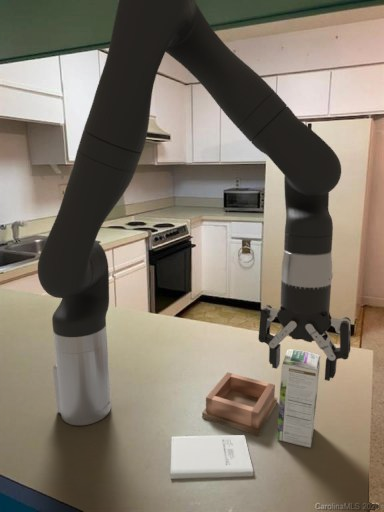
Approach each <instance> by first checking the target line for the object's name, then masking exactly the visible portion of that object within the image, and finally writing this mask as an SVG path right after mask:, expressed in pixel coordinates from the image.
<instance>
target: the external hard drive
mask: <svg viewBox="0 0 384 512" xmlns="http://www.w3.org/2000/svg"><path fill="white" fill-rule="evenodd" d="M247 444H248V443H247V440H246V436H245V435H244V434H242V435H241V434H240V435H239V434H238V435H236V434H235V435H233V434H231V435H229V434H228V435H191V436H190V435H189V436H188V435H185V436H181V435H179V436H171V443H170V447H171V448H170V473H169V474H170V479H172V480H173V479H199V478H203V479H205V478H229V477H230V478H231V477H233V478H234V477H254V468H253V464H252V461H251V456H250V452H249V448H248V445H247Z"/></svg>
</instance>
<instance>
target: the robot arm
mask: <svg viewBox="0 0 384 512" xmlns="http://www.w3.org/2000/svg"><path fill="white" fill-rule="evenodd" d="M113 22H114V23H113V28H112V33H111V38H110V42H109V47H108V52H107V55H106V58H105V59H106V60H105V63H104V67H103V69H102V72H101V75H100V78H99V81H98V84H97V87H96V90H95V93H94V97H93V100H92V104H91V107H90V111H89V113H88V115H87V118H86V121H85V123H84V127H83V129H82V134H81V137H80V140H79V144H78V147H77V150H76V154H75V158H74V161H73V166H72V170H71V171H70V176H69V178H68V181H67V184H66V186H65V191H64V193H63V198H62V200H61V202H60V203H61V204H60V206H59V210H58V213H57V215H56V217H55V220H54V222H53V224H52V227H51V229H50V230H49V233H48V235H47V238H46V240H45V243H44V245H43V247H42V250H41V252H40V255H39V258H38V261H37V276H38V277H37V278H38V281H39V283H40V285H41V287H42V289H43V290H44V291H45V293H46V294H48V295H49V296H51V297H53V298H58V299H61V300H60V303H59V304H58V306H57V308H56V310H55V311H54V312H53V314H52V319H51V321H52V323H51V324H52V332H53V342H54V351H55V352H54V353H55V363H56V364H54V365H53V367H52V371H53V381H54V390H55V391H54V392H55V401H56V412H57V413H59V414H60V415H61V419H62V420H63V421H64V422H65V423H67V424H69V425H72V426H88V425H92V424H95V423H97V422H100V421H102V420H103V419H104V418H105V417H107V415H109V413H110V412H111V408H112V404H111V403H112V402H111V401H112V399H111V384H110V369H109V368H110V366H109V365H110V364H109V349H108V336H107V335H108V334H107V320H106V319H107V312H108V310H109V308H110V307H109V305H110V276H109V275H110V271H109V262H108V258H107V254H106V251H105V250H104V248H103V246H102V245H101V244H100V243H99V241H97V237H98V235H99V232H100V230H101V229H102V226H103V224H104V223H105V221H106V219H107V218H108V216H109V215H110V213H111V212H112V211H113V209H114V208H115V207H116V205H117V204H118V203H119V201H120V200H121V198H122V196H123V195H124V194H125V193H126V190H127V189H128V187H129V185H130V184H131V183H132V180H133V178H134V175H135V173H136V171H137V167H138V166H139V162H140V159H141V157H142V154H143V151H144V149H145V148H144V147H145V145H146V142H147V136H148V131H149V123H150V115H151V105H152V96H153V89H154V85H155V80H156V78H157V74H158V71H159V68H160V66H161V63H162V61H163V58H164V56H165V54H168V55H169V56H170V57H172V59H174V60H175V61H177V62H178V63H179V64H181V66H183V67H184V68H185V69H186V70H187V71H188V72H189V73H190V74H191V75H192V76H193V77H194V78H195V79H196V80H197V81H198V82H199V83H200V84H201V85H202V87H203V88H204V89H205V90H206V91H207V93H208V94H209V95H210V97H212V99H213V100H214V101H215V103H216V104H217V105H218V106H219V108H220V109H221V111H223V113H224V115H226V117H228V120H230V121H231V122H232V123H233V124H234V125H235V126H236V128H237V129H238V130H239V131H240V132H241V133H242V134H243V135H244V137H245V138H246V139H247V140H248V141H249V142H251V144H252V145H253V146H254V147H255V148H256V149H258V150H259V152H261V153H262V154H265V155H266V156H267V157H268V158H269V159H270V161H272V163H273V164H274V165H275V166H276V168H278V169H279V171H281V173H282V174H283V175H284V178H283V179H284V186H283V187H284V201H285V203H284V204H285V215H286V216H285V225H284V247H283V248H284V249H283V256H282V262H281V278H280V279H281V280H280V281H281V282H280V283H281V284H280V286H281V287H280V308H279V309H277V308H273V307H272V306H271V305H269V304H267V305H265V306H264V307H263V308H262V309H261V310H260V316H259V317H260V318H259V329H258V341H259V342H260V343H263V344H264V343H265V344H266V345H267V346H268V348H269V350H268V352H269V353H268V362H269V364H270V365H272V369H278V368H279V366H280V364H281V363H280V362H281V342H283V340H284V339H286V337H288V336H289V337H291V339H292V340H297V341H298V340H303V341H305V342H308V343H312V342H314V343H316V344H317V346H318V348H319V349H320V350H322V352H323V353H324V355H325V356H326V359H325V369H324V381H326V382H327V381H329V382H330V380H331V379H333V378H335V375H336V372H337V363H338V362H337V360H340V359H342V360H348V359H349V357H350V353H351V333H352V332H351V329H352V328H351V327H352V326H351V325H352V324H351V323H352V321H351V319H350V318H349V317H348V316H347V317H346V316H345V317H343V318H332V316H331V313H330V307H331V291H332V279H333V261H332V260H333V257H332V250H333V249H332V248H333V234H334V233H333V229H334V226H333V219H332V216H331V215H330V211H329V199H330V197H329V196H330V194H329V193H330V192H332V190H334V189H335V188H336V187H337V185H338V184H339V182H340V179H341V177H342V165H341V161H340V158H339V157H338V155H337V154H336V152H335V151H334V150H333V149H332V147H331V146H330V145H328V144H327V142H326V141H325V140H324V139H323V138H322V137H321V136H320V135H318V134H317V133H316V132H315V131H313V130H312V129H311V128H310V127H309V126H308V125H306V124H305V123H304V122H303V121H301V119H300V118H298V117H297V115H295V113H294V112H293V111H292V109H291V108H290V107H289V106H288V105H287V104H286V103H285V102H284V100H283V99H282V98H281V97H280V95H278V94H277V92H276V91H275V90H274V89H273V88H272V87H271V86H270V85H269V84H268V83H267V82H266V81H265V80H264V79H263V78H262V77H261V76H260V75H259V74H258V73H257V72H256V71H254V69H253V68H251V66H249V65H248V64H247V63H245V62H244V61H243V60H242V59H241V58H240V57H239V56H237V54H235V53H234V52H233V51H232V50H231V49H230V48H229V47H228V46H227V45H226V44H225V43H224V41H222V39H221V38H220V37H219V35H218V34H217V33H216V31H215V30H214V28H213V27H211V24H209V22H208V20H207V19H206V17H205V15H204V14H203V12H202V11H201V9H200V7H199V6H198V5H197V2H196V0H118V2H117V7H116V13H115V19H114V21H113ZM276 318H277V320H278V321H279V323H280V325H281V326H282V328H281V329H279V330H278V332H277V333H276V334H274V335H272V334H271V327H272V326H271V323H272V322H273V321H274V320H275V319H276ZM330 327H333V328H334V329H335V332H336V333H337V334H339V347H337V346H336V345H335V343H334V342H333V340H332V338H331V336H330V334H329V333H328V330H329V329H330Z"/></svg>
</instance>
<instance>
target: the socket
mask: <svg viewBox="0 0 384 512" xmlns="http://www.w3.org/2000/svg"><path fill="white" fill-rule="evenodd" d="M275 389H276V384H273V383H269V382H266V381H263V380H262V381H261V380H258V379H254V378H249V377H246V376H243V375H239V374H235V373H232V372H228V371H227V372H226V373H225V374H224V376H223V377H222V378H221V379H220V381H218V382H217V384H216V385H214V388H212V389H211V391H210V392H209V393H208V394H207V395H206V397H205V408H204V410H203V411H202V412H201V417H202V418H203V419H206V420H209V421H212V422H215V423H218V424H222V425H224V426H228V427H230V428H233V429H237V430H240V431H243V432H246V433H248V434H251V435H255V436H257V437H260V436H261V434H262V432H263V430H264V428H265V426H266V425H267V422H268V421H269V419H270V417H271V415H272V413H273V411H274V409H275V407H276V405H277V404H278V397H276V396H275Z"/></svg>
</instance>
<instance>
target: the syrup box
mask: <svg viewBox="0 0 384 512" xmlns="http://www.w3.org/2000/svg"><path fill="white" fill-rule="evenodd" d="M320 363H321V355H320V354H317V353H313V352H310V351H306V350H300V349H290V348H289V349H287V351H286V353H285V355H284V358H283V361H282V364H281V373H280V374H281V375H280V386H279V388H280V389H279V398H278V400H279V401H278V415H277V428H276V430H277V431H276V440H278V441H280V442H285V443H289V444H293V445H296V446H297V445H298V446H301V447H305V448H312V444H313V435H314V430H315V429H314V428H315V419H316V411H317V410H316V409H317V399H318V389H319V388H318V387H319V378H320V377H319V375H320Z"/></svg>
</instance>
